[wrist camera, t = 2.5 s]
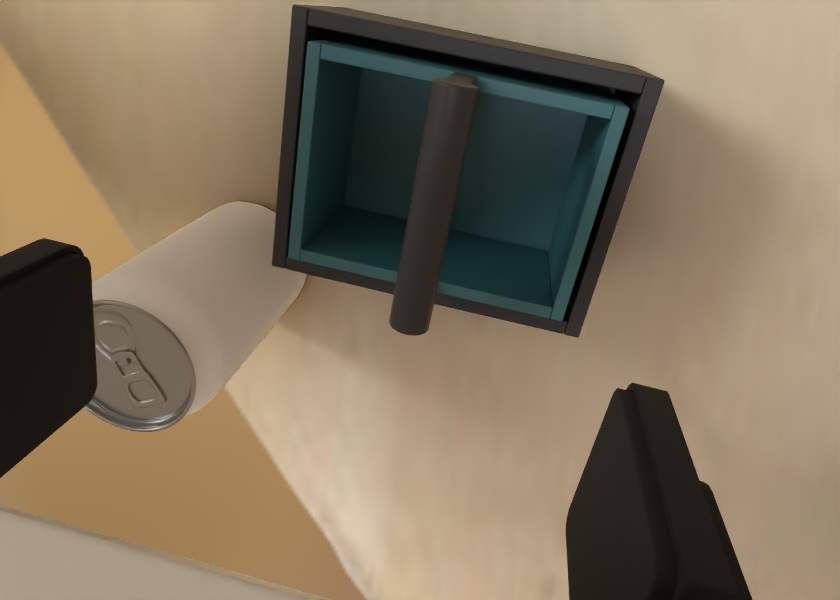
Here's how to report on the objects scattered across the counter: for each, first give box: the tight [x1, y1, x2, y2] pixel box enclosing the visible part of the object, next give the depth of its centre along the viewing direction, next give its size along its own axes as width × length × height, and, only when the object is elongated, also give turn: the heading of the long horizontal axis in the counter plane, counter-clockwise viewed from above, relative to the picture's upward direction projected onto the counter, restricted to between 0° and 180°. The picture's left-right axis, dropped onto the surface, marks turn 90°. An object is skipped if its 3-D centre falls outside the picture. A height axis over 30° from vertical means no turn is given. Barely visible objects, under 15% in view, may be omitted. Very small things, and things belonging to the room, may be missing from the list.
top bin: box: [288, 36, 630, 335], centre depth 24 cm, size 11×8×11 cm
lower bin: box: [272, 5, 664, 337], centre depth 27 cm, size 13×10×7 cm
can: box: [85, 201, 306, 432], centre depth 28 cm, size 6×6×12 cm
